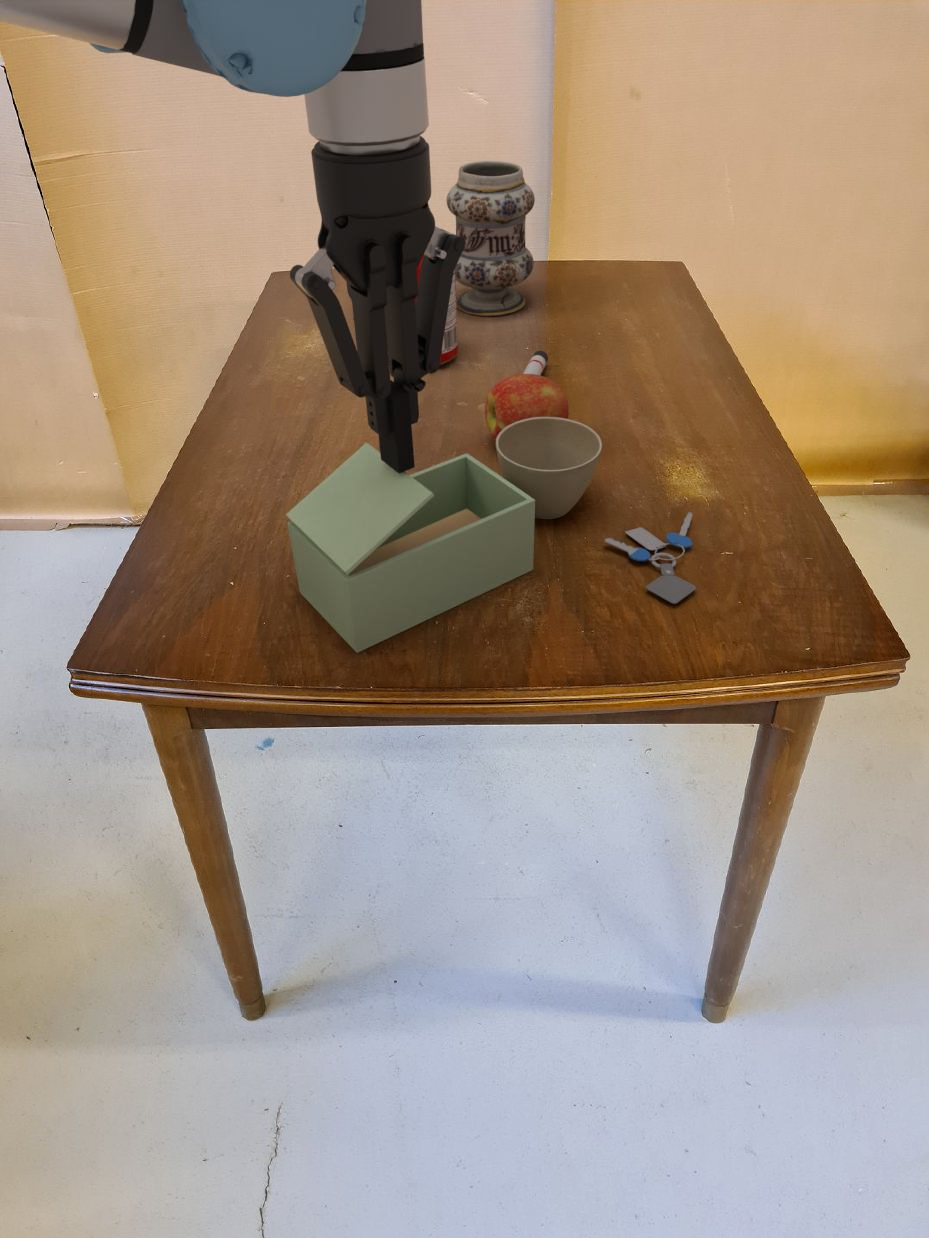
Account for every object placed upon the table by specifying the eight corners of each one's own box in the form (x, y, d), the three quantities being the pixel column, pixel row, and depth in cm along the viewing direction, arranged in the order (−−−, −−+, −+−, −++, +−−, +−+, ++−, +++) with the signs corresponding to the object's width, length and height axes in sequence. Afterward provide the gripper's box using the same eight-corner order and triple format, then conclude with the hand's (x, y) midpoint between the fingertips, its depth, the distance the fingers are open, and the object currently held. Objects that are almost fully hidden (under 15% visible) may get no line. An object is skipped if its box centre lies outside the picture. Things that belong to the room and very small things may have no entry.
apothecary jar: (543, 293, 133) (548, 159, 121) (515, 325, 124) (517, 184, 113) (467, 284, 136) (464, 153, 125) (435, 313, 128) (428, 176, 116)
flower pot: (483, 526, 88) (483, 461, 83) (510, 473, 95) (510, 411, 90) (586, 541, 85) (591, 476, 80) (605, 486, 92) (610, 423, 88)
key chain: (696, 609, 77) (697, 601, 76) (598, 600, 78) (599, 593, 78) (693, 517, 87) (694, 510, 87) (607, 511, 89) (607, 504, 88)
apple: (480, 433, 101) (479, 366, 96) (551, 423, 103) (554, 356, 98) (499, 469, 95) (499, 399, 90) (575, 457, 97) (579, 388, 92)
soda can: (457, 371, 114) (453, 248, 104) (395, 372, 114) (385, 249, 104) (458, 345, 120) (455, 226, 110) (399, 346, 120) (390, 228, 110)
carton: (356, 653, 74) (346, 581, 69) (299, 592, 80) (286, 522, 76) (533, 569, 82) (535, 499, 77) (468, 520, 88) (466, 452, 83)
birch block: (340, 598, 79) (335, 566, 77) (467, 539, 85) (466, 507, 83) (361, 618, 77) (357, 586, 74) (491, 556, 83) (490, 524, 81)
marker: (532, 364, 115) (533, 349, 113) (548, 366, 114) (548, 351, 113) (502, 421, 103) (502, 405, 102) (519, 423, 103) (519, 407, 102)
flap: (347, 575, 69) (345, 572, 69) (287, 517, 75) (285, 514, 75) (434, 495, 70) (432, 492, 70) (368, 445, 76) (366, 442, 76)
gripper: (422, 112, 62) (438, 421, 78) (249, 145, 57) (303, 470, 72) (487, 132, 58) (490, 456, 73) (306, 169, 52) (350, 512, 67)
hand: (397, 463), depth 73 cm, fingers closed
